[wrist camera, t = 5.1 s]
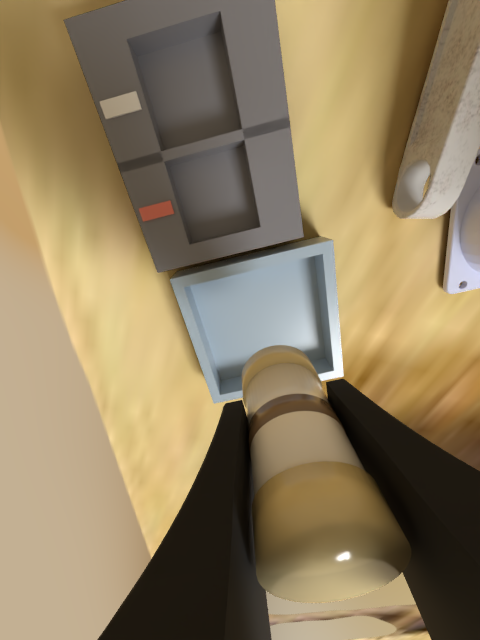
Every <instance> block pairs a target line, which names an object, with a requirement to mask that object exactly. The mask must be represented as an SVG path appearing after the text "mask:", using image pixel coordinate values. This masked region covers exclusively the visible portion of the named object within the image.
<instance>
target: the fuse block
mask: <svg viewBox="0 0 480 640" xmlns="http://www.w3.org/2000/svg"><path fill="white" fill-rule="evenodd" d="M64 22H65V25H66V28H67V30H68V33H69V36H70V39H71V41H72V44H73V47H74V49H75V52H76V55H77V57H78V60H79V63H80V65H81V68H82V71H83V73H84V76H85V79H86V81H87V84H88V87H89V90H90V92H91V95H92V98H93V100H94V103H95V106H96V108H97V111H98V114H99V116H100V119H101V122H102V124H103V127H104V130H105V133H106V135H107V138H108V141H109V143H110V146H111V149H112V151H113V154H114V157H115V159H116V162H117V165H118V167H119V170H120V173H121V175H122V178H123V181H124V184H125V186H126V189H127V192H128V194H129V197H130V200H131V202H132V205H133V208H134V210H135V213H136V216H137V218H138V221H139V224H140V226H141V229H142V232H143V235H144V237H145V240H146V243H147V245H148V248H149V251H150V253H151V256H152V259H153V261H154V264H155V267H156V269H157V272H158V273H159V272H163V271H168V270H172V269H176V268H180V267H184V266H188V265H192V264H196V263H200V262H204V261H208V260H212V259H216V258H221V257H225V256H229V255H233V254H237V253H241V252H245V251H249V250H253V249H257V248H261V247H265V246H269V245H274V244H278V243H282V242H286V241H290V240H294V239H298V238H302V237H304V235H303V227H302V219H301V210H300V202H299V194H298V186H297V178H296V170H295V162H294V153H293V145H292V137H291V129H290V121H289V113H288V104H287V96H286V88H285V80H284V72H283V64H282V55H281V47H280V39H279V31H278V23H277V15H276V7H275V0H125V1H122V2H119V3H116V4H113V5H109V6H106V7H103V8H100V9H97V10H94V11H90V12H87V13H84V14H81V15H78V16H74V17H71V18H68V19H65V20H64Z"/></svg>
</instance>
